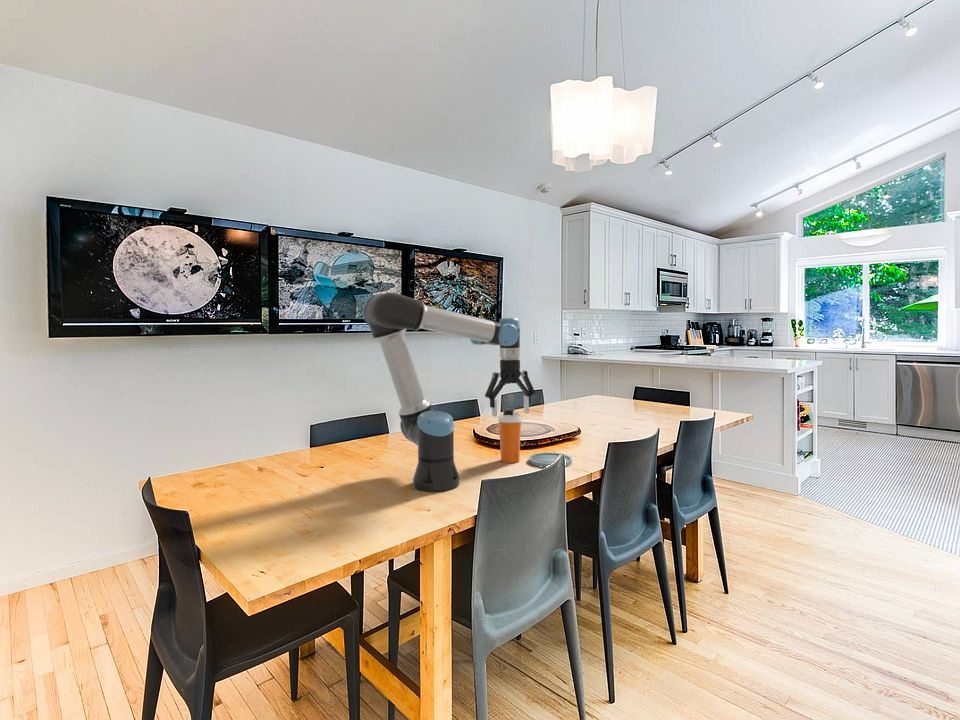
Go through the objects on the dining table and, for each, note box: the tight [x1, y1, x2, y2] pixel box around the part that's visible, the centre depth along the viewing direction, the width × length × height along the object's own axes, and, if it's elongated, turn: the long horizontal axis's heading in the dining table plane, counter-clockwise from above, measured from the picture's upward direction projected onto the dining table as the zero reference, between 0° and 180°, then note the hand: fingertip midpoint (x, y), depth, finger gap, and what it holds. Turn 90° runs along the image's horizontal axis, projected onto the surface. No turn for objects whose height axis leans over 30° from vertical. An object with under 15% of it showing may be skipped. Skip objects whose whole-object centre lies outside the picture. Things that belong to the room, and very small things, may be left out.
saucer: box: [528, 451, 573, 468], centre depth 194 cm, size 16×16×2 cm
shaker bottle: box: [497, 407, 523, 464], centre depth 195 cm, size 9×9×20 cm
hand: (510, 414), depth 195 cm, fingers open, 13 cm apart
